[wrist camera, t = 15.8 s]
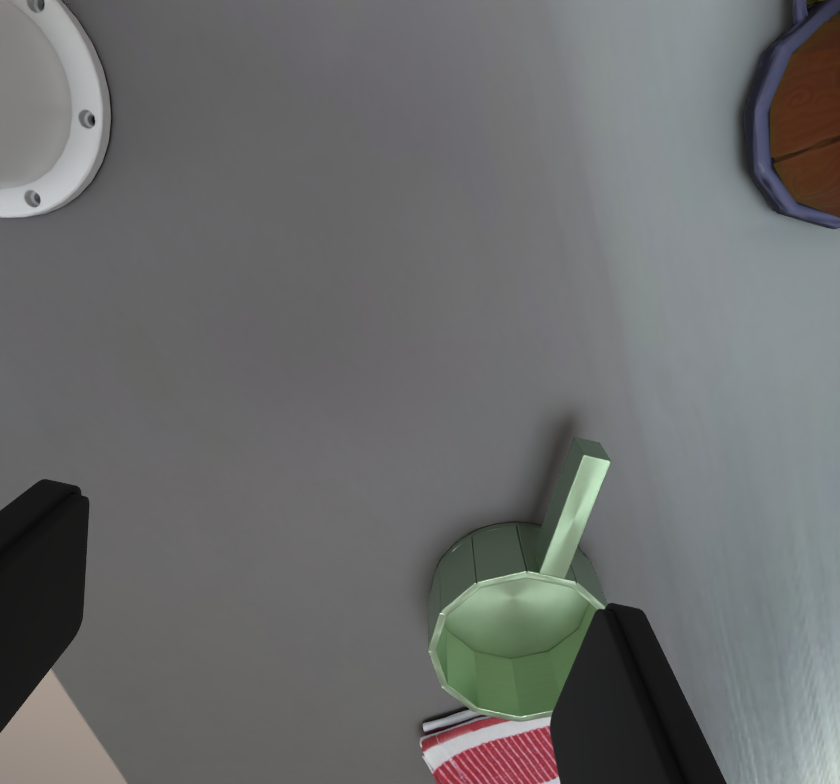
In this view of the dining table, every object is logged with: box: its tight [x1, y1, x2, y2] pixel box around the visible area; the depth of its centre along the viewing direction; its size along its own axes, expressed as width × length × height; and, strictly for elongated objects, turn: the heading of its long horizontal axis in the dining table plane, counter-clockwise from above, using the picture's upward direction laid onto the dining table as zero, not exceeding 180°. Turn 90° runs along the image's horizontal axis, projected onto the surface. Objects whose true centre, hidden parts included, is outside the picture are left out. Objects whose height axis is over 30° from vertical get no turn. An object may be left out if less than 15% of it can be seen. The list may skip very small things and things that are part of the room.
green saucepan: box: [428, 437, 611, 722], centre depth 38 cm, size 20×12×6 cm, turn 166°
